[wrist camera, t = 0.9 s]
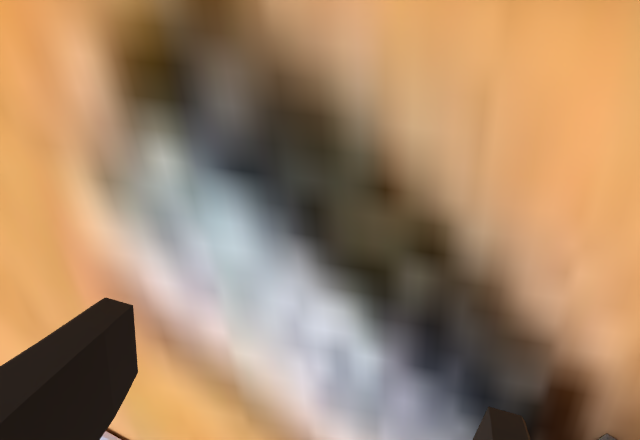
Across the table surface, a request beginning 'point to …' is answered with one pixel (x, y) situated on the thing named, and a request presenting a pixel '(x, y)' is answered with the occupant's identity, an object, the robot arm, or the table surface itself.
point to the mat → (606, 437)
